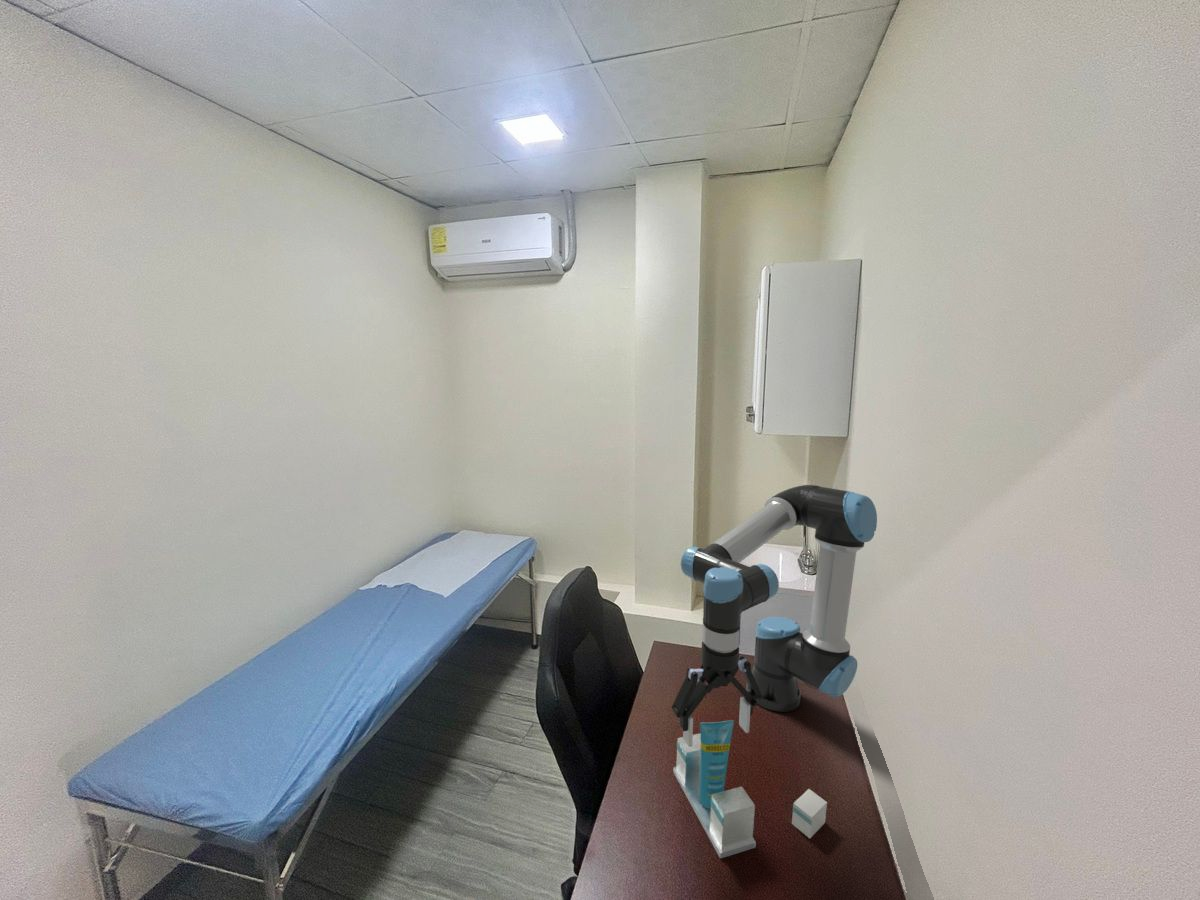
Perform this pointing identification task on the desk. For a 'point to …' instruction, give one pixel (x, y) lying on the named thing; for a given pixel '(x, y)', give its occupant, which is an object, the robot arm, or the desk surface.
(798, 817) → the block
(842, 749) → the desk surface
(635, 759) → the desk surface
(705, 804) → the tube
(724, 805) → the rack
